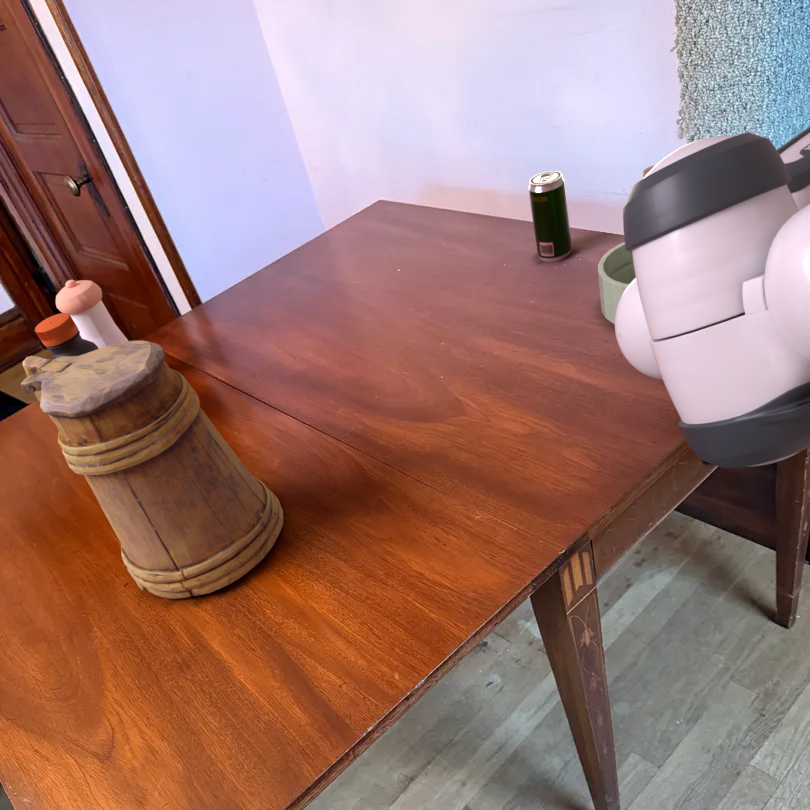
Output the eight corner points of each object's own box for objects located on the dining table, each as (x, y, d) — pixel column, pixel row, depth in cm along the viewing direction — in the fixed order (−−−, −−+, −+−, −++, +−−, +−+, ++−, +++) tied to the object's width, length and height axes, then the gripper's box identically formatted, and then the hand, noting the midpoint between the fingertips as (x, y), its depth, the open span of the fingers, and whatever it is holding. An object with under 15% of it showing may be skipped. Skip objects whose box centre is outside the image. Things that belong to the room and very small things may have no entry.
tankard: (230, 615, 79) (107, 424, 62) (79, 583, 90) (-60, 413, 73) (312, 500, 89) (225, 311, 73) (168, 484, 100) (64, 316, 84)
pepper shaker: (103, 400, 124) (36, 293, 111) (131, 375, 128) (70, 269, 115) (133, 402, 120) (67, 293, 108) (161, 377, 124) (101, 268, 112)
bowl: (748, 290, 98) (751, 242, 93) (665, 346, 93) (664, 298, 89) (656, 266, 108) (654, 222, 104) (578, 315, 104) (573, 271, 100)
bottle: (136, 423, 115) (64, 305, 102) (157, 435, 111) (84, 313, 97) (99, 448, 112) (20, 330, 99) (119, 462, 108) (38, 340, 95)
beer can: (567, 261, 117) (558, 183, 109) (534, 264, 119) (523, 187, 111) (575, 245, 120) (567, 168, 112) (543, 248, 122) (533, 172, 114)
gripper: (762, 290, 84) (636, 294, 90) (782, 210, 96) (670, 219, 102) (765, 236, 80) (633, 244, 86) (786, 159, 92) (669, 171, 98)
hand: (653, 229), depth 94 cm, fingers open, 8 cm apart
